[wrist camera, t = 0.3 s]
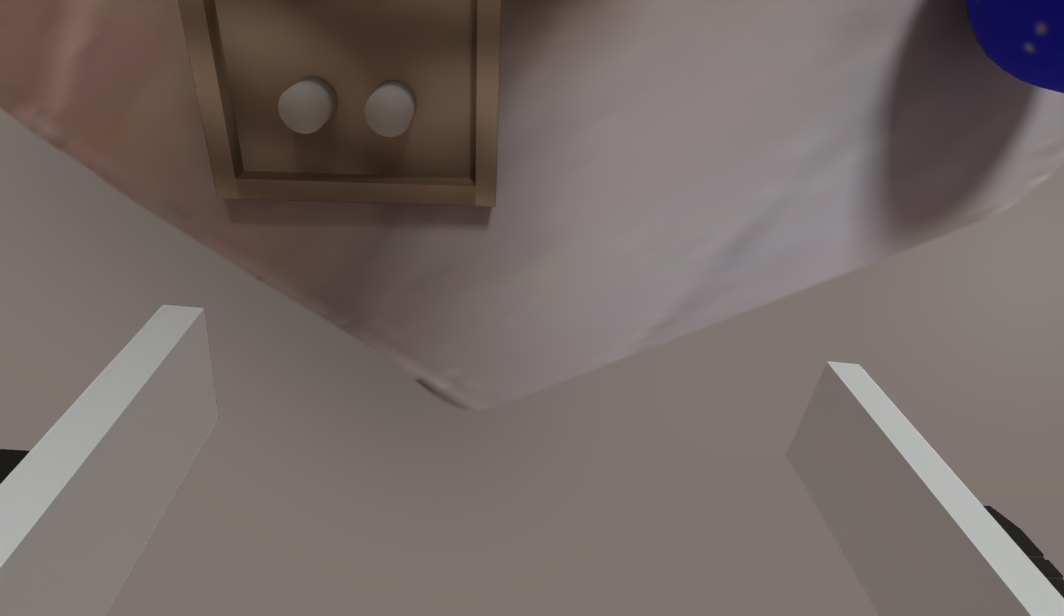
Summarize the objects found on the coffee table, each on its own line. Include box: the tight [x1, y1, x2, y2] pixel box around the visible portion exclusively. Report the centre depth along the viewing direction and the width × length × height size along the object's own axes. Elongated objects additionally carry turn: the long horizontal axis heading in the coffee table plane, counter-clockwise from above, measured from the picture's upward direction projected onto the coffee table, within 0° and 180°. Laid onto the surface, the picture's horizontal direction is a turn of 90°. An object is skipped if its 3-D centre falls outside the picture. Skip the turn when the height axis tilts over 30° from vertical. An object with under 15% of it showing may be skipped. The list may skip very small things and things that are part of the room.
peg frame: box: [178, 0, 501, 207], centre depth 32 cm, size 20×16×4 cm
